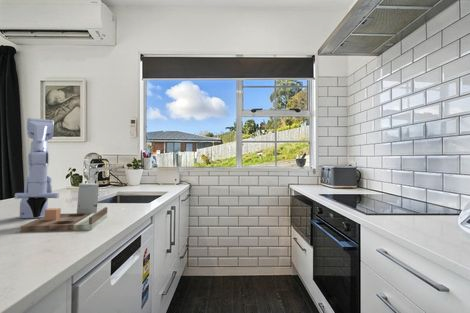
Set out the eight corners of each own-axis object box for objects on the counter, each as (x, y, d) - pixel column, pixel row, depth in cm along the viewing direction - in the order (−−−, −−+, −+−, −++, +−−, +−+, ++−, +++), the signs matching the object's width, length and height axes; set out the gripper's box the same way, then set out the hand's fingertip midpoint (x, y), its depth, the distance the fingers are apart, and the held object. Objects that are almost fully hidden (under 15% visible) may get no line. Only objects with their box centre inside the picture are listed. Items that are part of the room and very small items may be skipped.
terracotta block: (44, 220, 102) (44, 210, 102) (49, 218, 106) (49, 208, 106) (55, 220, 103) (56, 209, 103) (60, 217, 107) (60, 208, 107)
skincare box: (76, 217, 117) (77, 184, 118) (77, 215, 123) (78, 183, 123) (97, 216, 121) (98, 183, 122) (97, 213, 127) (98, 182, 127)
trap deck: (20, 232, 93) (20, 219, 93) (49, 218, 114) (50, 208, 114) (91, 229, 98) (92, 217, 98) (107, 217, 119) (107, 207, 119)
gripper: (10, 182, 98) (8, 219, 98) (53, 183, 101) (52, 218, 101) (21, 181, 105) (20, 215, 105) (61, 181, 108) (60, 214, 108)
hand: (36, 216), depth 104 cm, fingers closed
